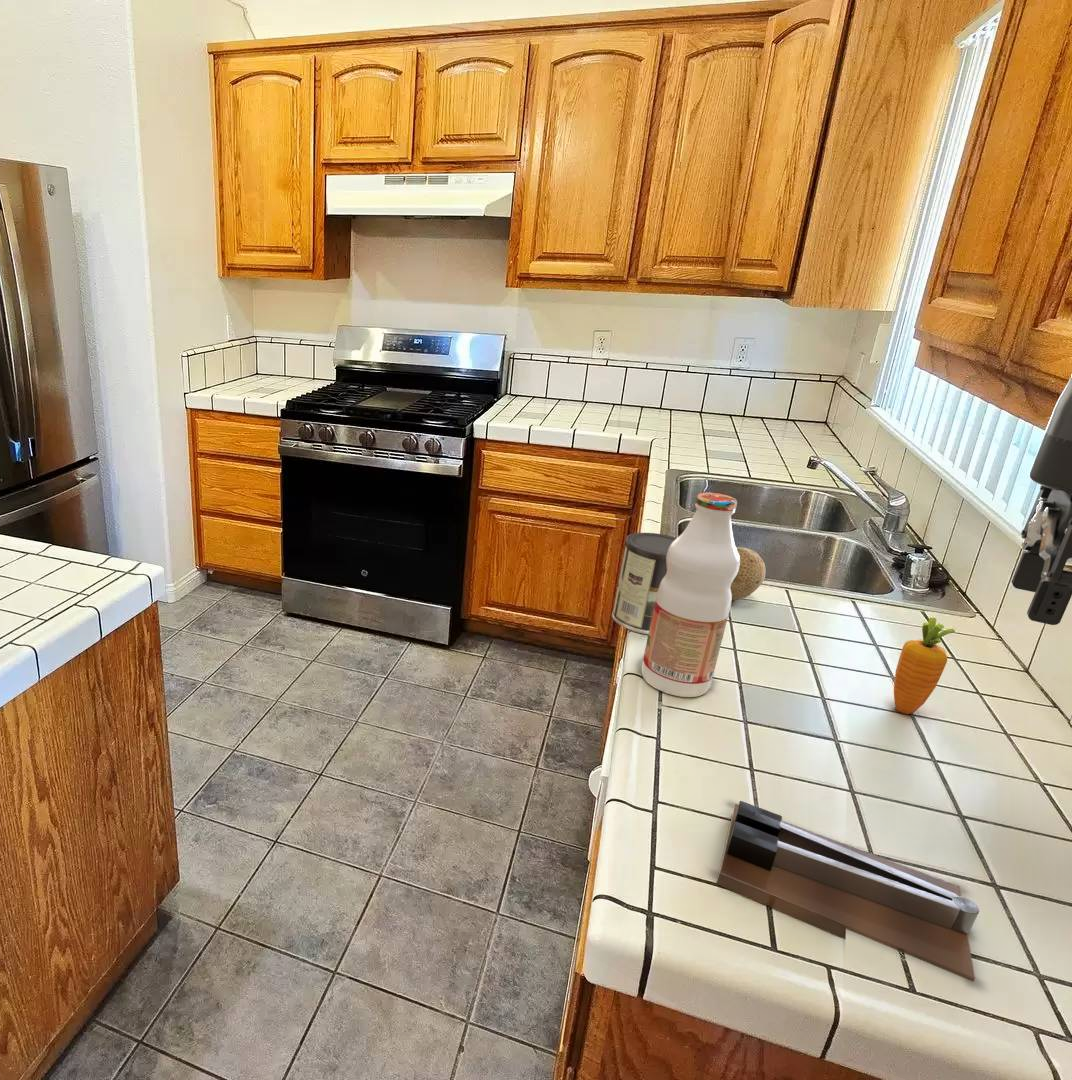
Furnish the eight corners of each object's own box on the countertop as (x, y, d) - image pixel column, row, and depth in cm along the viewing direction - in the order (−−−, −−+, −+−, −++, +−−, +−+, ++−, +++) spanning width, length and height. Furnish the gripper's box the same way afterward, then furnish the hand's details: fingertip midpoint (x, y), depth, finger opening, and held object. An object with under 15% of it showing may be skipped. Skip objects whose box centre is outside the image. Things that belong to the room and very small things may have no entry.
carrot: (888, 703, 106) (922, 607, 101) (928, 720, 103) (966, 622, 97) (873, 714, 103) (908, 616, 98) (914, 732, 100) (953, 632, 94)
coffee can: (679, 617, 129) (697, 540, 124) (671, 641, 120) (689, 560, 115) (617, 601, 133) (632, 527, 128) (605, 624, 125) (620, 545, 120)
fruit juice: (660, 700, 104) (704, 509, 94) (628, 665, 113) (665, 486, 102) (723, 697, 105) (773, 509, 95) (686, 663, 114) (728, 486, 104)
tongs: (726, 853, 76) (731, 834, 75) (734, 818, 81) (740, 800, 80) (973, 954, 66) (983, 934, 65) (966, 906, 71) (975, 887, 70)
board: (954, 897, 74) (959, 885, 73) (969, 991, 64) (975, 978, 64) (732, 814, 83) (735, 803, 83) (716, 884, 74) (719, 872, 73)
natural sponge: (728, 612, 131) (741, 560, 128) (691, 591, 139) (703, 541, 135) (768, 607, 134) (782, 555, 130) (729, 586, 142) (742, 537, 138)
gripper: (1032, 417, 73) (973, 570, 78) (1065, 444, 61) (993, 621, 67) (1137, 429, 69) (1067, 589, 75) (1192, 460, 58) (1105, 646, 64)
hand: (1032, 604), depth 71 cm, fingers open, 8 cm apart
